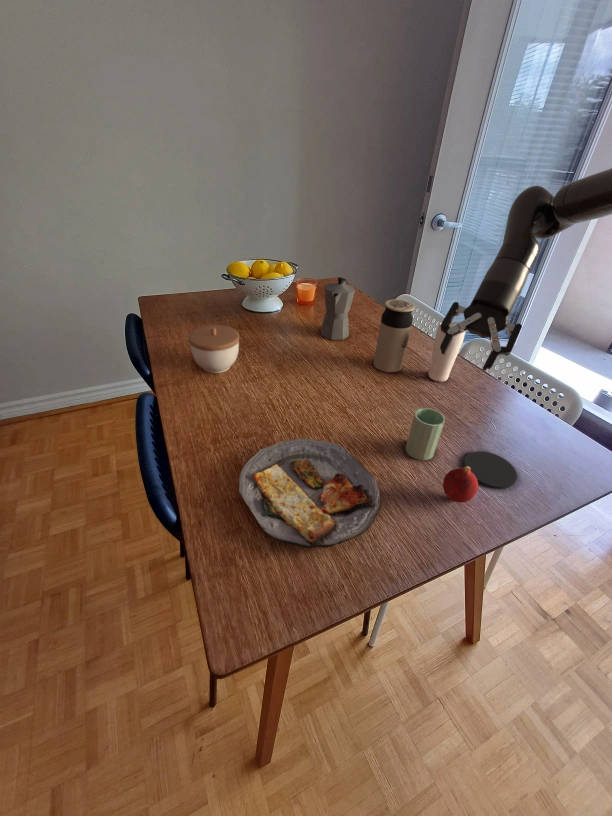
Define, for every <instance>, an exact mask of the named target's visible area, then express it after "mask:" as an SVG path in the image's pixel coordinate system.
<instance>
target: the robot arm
mask: <svg viewBox="0 0 612 816" xmlns="http://www.w3.org/2000/svg"><path fill="white" fill-rule="evenodd" d="M611 215H612V167H611V168H608V169H605V170H602V171H599V172H596V173H594V174H591V175H587V176H585V177H582V178H579V179H576V180H574V181H571V182H569V183H567V184H565V185H563V186H562V187H561V188H560V189H559V190H557V192H556V194H555V196H554V195H553V194H552V193H551V192H550V191H549V190H548V189H546V188H545V187H544V186H541V185H532V186H531V185H530V186H529V187H527V188H526V189H523V191H521V192H520V193H519V195H517V197H516V198H515V199H514V200H513V202H512V205H511V206H510V209H509V212H508V215H507V220H506V226H505V231H504V233H503V240H502V244H501V246H500V248H499V251H498V252H497V254H496V257H495V258H494V260H493V262H492V263H491V265H490V266H489V268H488V270H487V271H486V273H485V275H484V277H483V278H482V281H481V283H480V285H479V287H478V288H477V291H476V293H475V295H474V297H473V299H472V300H471V302H470V304H469V305H468V306H467V307H465V306H462V305H460V304H459V302H458V301H454V302H453V303H452V304H451V306H450V307H449V309H448V311H447V313H446V314H445V316H444V318H443V320H442V321H441V322H442V323H441V322H440V323H441V325H440V326H441V331H442V332H444V333H445V334H446V336H445V337H444V339H443V341H442V343H441V345H440V350H441V354H444V355H445V353H446V351H447V349H448V347H449V345H450V344H451V342H452V340H453V337H454V336H456V335H458V334H460V333H463V332H465V331H466V332H468V333H469V334H471V335H477V336H479V337H480V338H482V339H485V338H488V340H489V345H490V346H491V351H490V353H489V355H488V356H487V359H486V360H485V363H484V364H483V367H482V369H481V371H483V372H486V371H487V370H491V369H492V368H493V366H494V364H495V362H496V360H497V358H498V357H499V356H506V357H507V356H508V357H509V356H510V354H511V353H512V351H513V348H514V346H515V344H516V342H517V339H518V337H519V335H520V333H521V330H522V328H523V325H522V324H521V323H519V322H518V323H516V324H515V323H513V322H512V323H511V322H508V318H509V316H510V314H511V312H512V310H513V309H514V307H515V304H516V303H517V300H518V299H519V297H520V295H521V294H522V291H523V289H524V287H525V285H526V282H527V279H528V276H529V274H530V272H531V270H532V268H533V267H534V264H535V262H536V261H537V258H538V256H539V254H540V251H541V246H540V243H539V241H538V240H537V239H539V240H548V239H551V238H553V237H554V236H556V235H558V234H560V233H562V232H563V231H565V230H567V229H569V228H571V227H572V226H574V225H577V224H580V223H584V222H588V221H592V220H597V219H600V218H601V219H602V218H604V217H607V216H608V217H609V216H611ZM461 314H463V318H464V319H463V320H462V321H459V322H457V323H458V324H457V325H456V326H454V327H452V328H450V327H449V325H450V323H451V322H452V321H453V320H454V318H455V317H459V316H460V315H461ZM505 329H506V330H507V335H508V336H509V338H508V340H507V343H506V345H505V346H501V343H500V337H499V332H502V331H503V330H505ZM466 332H465V333H466Z"/></svg>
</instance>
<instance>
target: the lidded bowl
mask: <svg viewBox="0 0 612 816" xmlns="http://www.w3.org/2000/svg"><path fill="white" fill-rule="evenodd" d="M188 343H189V348H190V352H191V355H192V358H193V360H194V362H195V363H196V364H197V365H198V367H200V368H202V369H203V371H205V372H207V373H211V374H222V373H225V372H227V371H228V370H230V368H231V367H232V366H233V365H234V364H235V362H236V360H237V359H238V356H239V350H240V333H239V332H238V331H237V330H236V329H235V328H233V327H230V326H226V325H220V324H210V325H203V326H200V327H197V328H195V329H192V331H191V332H190V333H189V334H188Z"/></svg>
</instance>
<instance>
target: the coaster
mask: <svg viewBox="0 0 612 816" xmlns="http://www.w3.org/2000/svg"><path fill="white" fill-rule="evenodd" d="M466 466H469V467H470V468H471V470H470V471H471V472H472V473H473V474H474V475H475V476H476V478H477V481H478V484H481V485H482V486H486V487H489V488H492V489H498V490H503V489H508V488H510V487H512V486H514V485H515V483H516V482H517V480H518V474H517V471H516V469H515V467H514V466H513V465H512V463H510V462H509V461H508V460H507V459H505V458H503V457H501V456H500V455H498V454H495V453H492V452H488V451H480V450H479V451H473V452H470V453H468V454H467V455H466V456H465V458H464V460H463V468H464V467H466Z"/></svg>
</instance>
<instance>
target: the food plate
mask: <svg viewBox="0 0 612 816" xmlns="http://www.w3.org/2000/svg"><path fill="white" fill-rule="evenodd" d="M379 488H380V487H379V484H378V482H377V479H376V478H375V476H374V475H373V474H372V473H371V472H370V471H369V469H367V468H366V467H365V466H364V465H363V464H362V463H361V462H360V461H359V459H357V458H356V457H355V456H354V455H353V454H352V453H351V452H349V450H347V449H346V448H345V447H343V446H342V445H339V444H338V443H334V442H329V441H325V440H317V439H312V438H294V439H286V440H282V441H279V442H277V443H274V444H272V445H269V446H266V447H264V448H261V449H260V450H258V451H257V452H256V453H255V454H254V455H253V456H252V457H251V458H249V459H248V461H247V462H246V463H245V464H244V466H243V467H242V469H241V471H240V474H239V478H238V493H239V494H240V496H241V497H242V499H243V501H244V502H245V504H246V505H247V507H248V509H249V510H250V512H251V514H252V515H253V516H254V518H255V520H256V521H257V523H258V524H259V526H260V527H261V529H262V531H263V532H265V533H266V534H267V535H269V537H271V538H273V539H274V540H276V541H278V542H281V543H284V544H285V543H286V544H289V545H290V544H291V545H294V546H298V547H304V548H307V549H313V548H329V547H334V546H336V545H340V544H342V543H345V542H348V541H351V540H352V539H356V538H358V537H359V536H362V535H363V534H364V533H366V531H368V530H369V529H370V528H371V527H372V525H373V524H374V522H375V519H376V517H377V515H378V513H379V512H380V510H381V508H382V499H381V491H380V489H379Z"/></svg>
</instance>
